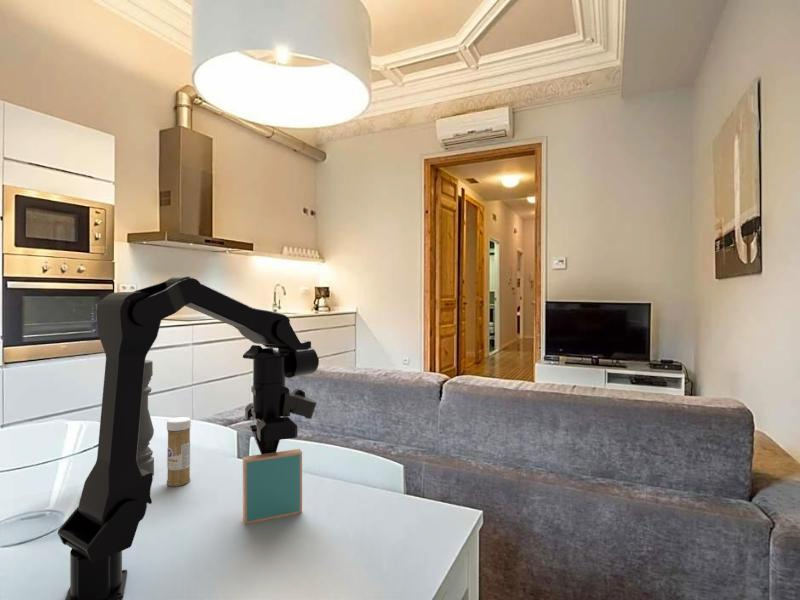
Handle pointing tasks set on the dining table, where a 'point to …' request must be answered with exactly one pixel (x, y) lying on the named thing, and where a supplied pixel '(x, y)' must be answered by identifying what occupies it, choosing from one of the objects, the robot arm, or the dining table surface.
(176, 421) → the sprinkles bottle
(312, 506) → the dining table surface
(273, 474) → the tile
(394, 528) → the dining table surface
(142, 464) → the candle holder
